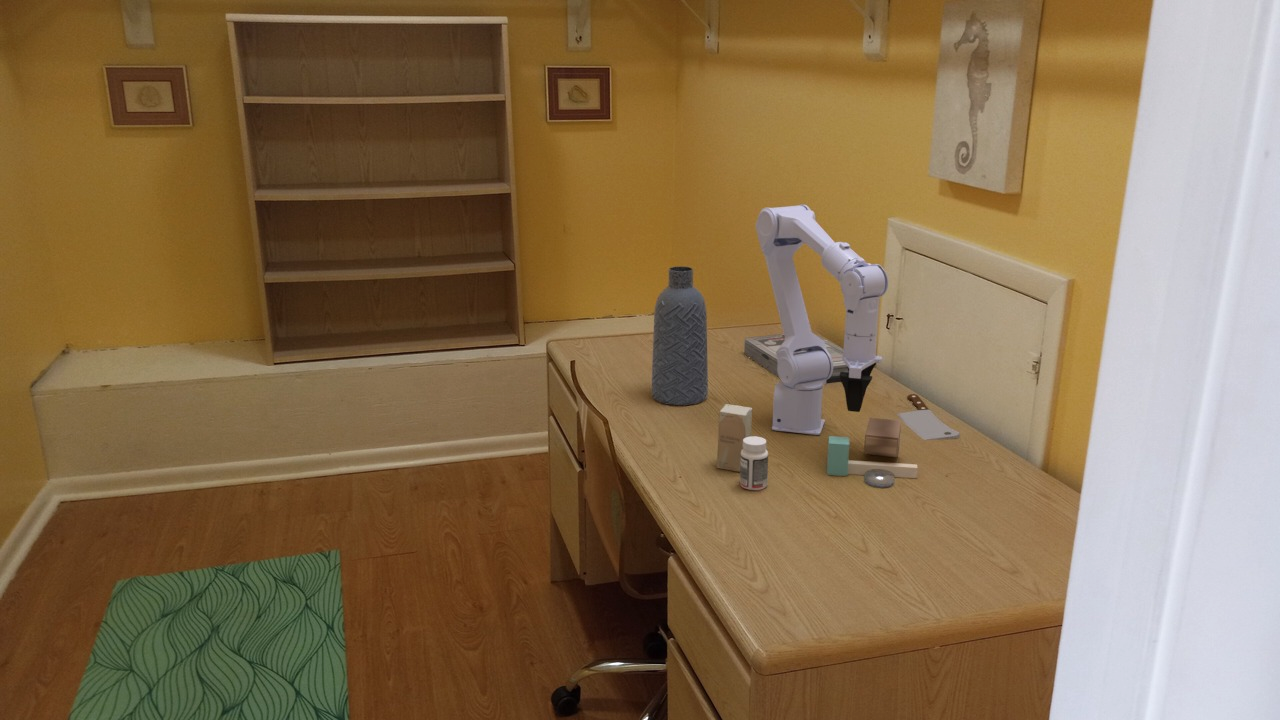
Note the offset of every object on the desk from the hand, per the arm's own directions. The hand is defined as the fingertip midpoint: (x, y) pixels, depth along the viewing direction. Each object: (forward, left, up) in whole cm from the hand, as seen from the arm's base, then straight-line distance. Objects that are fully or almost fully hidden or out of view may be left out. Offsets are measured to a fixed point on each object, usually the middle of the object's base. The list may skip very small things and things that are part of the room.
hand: (856, 403), depth 183 cm
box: (-20, -12, -10) cm, 25 cm away
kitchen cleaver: (+11, +23, -10) cm, 28 cm away
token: (+6, -11, -10) cm, 16 cm away
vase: (-39, +21, -10) cm, 45 cm away
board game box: (-17, +51, -11) cm, 55 cm away
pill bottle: (-15, -19, -10) cm, 26 cm away
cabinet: (+5, -3, -10) cm, 12 cm away
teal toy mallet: (+4, -8, -10) cm, 13 cm away
